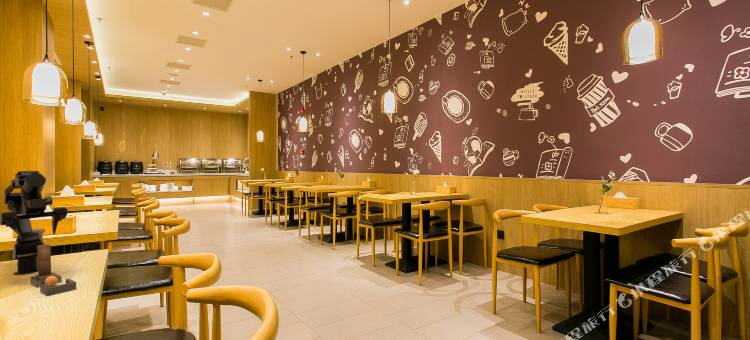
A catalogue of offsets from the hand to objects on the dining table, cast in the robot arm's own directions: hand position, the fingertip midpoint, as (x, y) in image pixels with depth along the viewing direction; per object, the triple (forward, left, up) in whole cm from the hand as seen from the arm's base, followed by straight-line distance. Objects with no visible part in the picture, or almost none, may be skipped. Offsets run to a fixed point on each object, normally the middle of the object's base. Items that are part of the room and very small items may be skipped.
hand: (38, 235), depth 139 cm
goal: (+13, +14, -17) cm, 26 cm away
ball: (+7, +8, -15) cm, 19 cm away
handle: (-29, -19, -17) cm, 39 cm away
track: (+3, +4, -17) cm, 18 cm away
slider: (+2, +3, -17) cm, 17 cm away
